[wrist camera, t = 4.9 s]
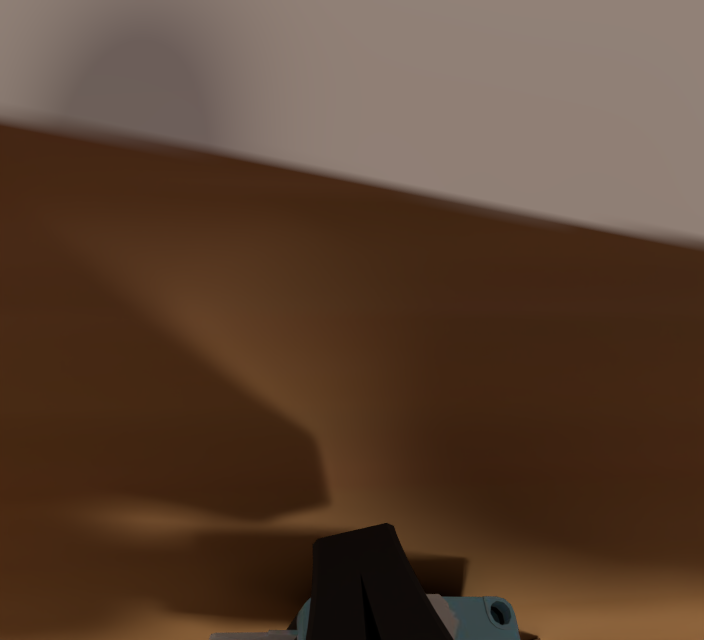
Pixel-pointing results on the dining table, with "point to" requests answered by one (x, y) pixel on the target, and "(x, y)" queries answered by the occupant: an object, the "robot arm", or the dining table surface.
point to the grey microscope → (455, 612)
